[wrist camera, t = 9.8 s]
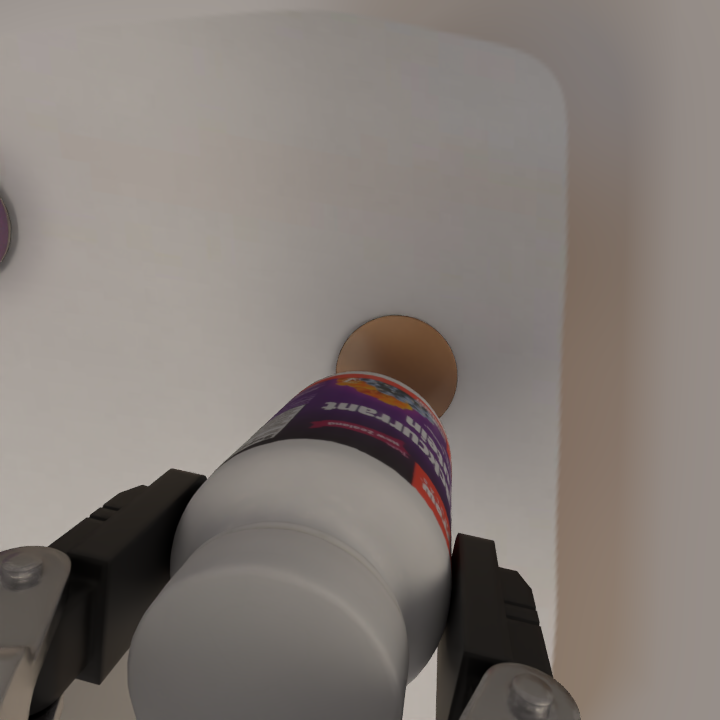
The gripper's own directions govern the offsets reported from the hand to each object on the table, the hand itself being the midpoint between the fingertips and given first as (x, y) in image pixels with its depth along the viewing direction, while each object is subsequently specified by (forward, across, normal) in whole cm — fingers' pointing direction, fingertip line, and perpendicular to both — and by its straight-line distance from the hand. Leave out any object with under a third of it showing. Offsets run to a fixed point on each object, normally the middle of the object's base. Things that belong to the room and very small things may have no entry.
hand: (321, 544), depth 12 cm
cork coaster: (+17, 0, 0) cm, 17 cm away
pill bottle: (+6, 0, 0) cm, 6 cm away
